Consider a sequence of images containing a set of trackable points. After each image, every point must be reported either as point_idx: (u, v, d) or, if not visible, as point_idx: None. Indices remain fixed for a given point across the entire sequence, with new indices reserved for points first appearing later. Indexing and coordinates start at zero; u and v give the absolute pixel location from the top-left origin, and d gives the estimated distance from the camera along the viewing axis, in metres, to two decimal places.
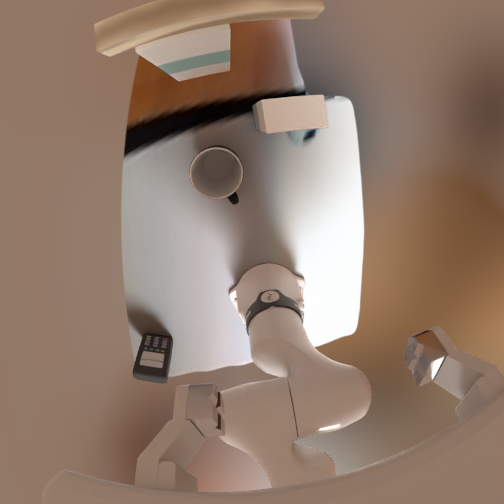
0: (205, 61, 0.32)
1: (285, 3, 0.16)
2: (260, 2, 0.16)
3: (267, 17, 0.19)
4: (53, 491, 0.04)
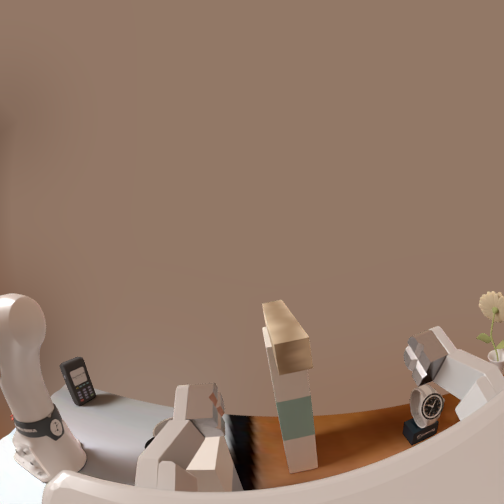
0: None
1: (275, 332, 0.29)
2: (275, 326, 0.31)
3: (273, 351, 0.30)
4: (53, 491, 0.04)
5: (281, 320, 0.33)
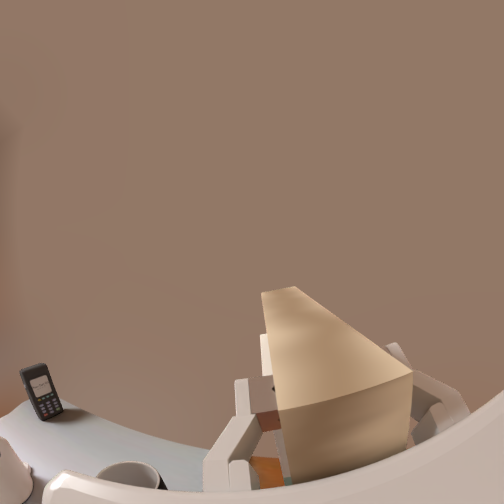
0: None
1: (284, 353, 0.09)
2: (284, 335, 0.11)
3: None
4: (53, 491, 0.04)
5: (298, 319, 0.14)
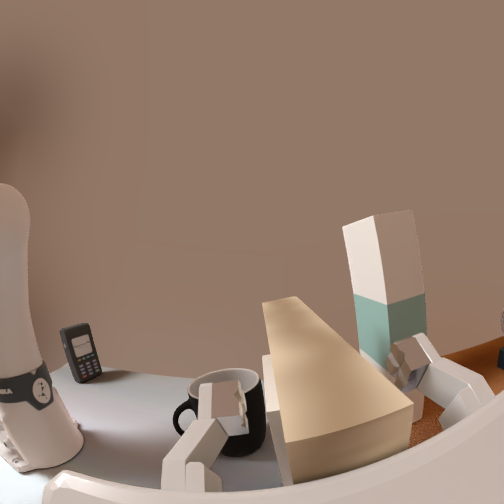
0: (376, 337, 0.28)
1: (289, 378, 0.09)
2: (288, 356, 0.11)
3: None
4: (53, 491, 0.04)
5: (301, 337, 0.14)
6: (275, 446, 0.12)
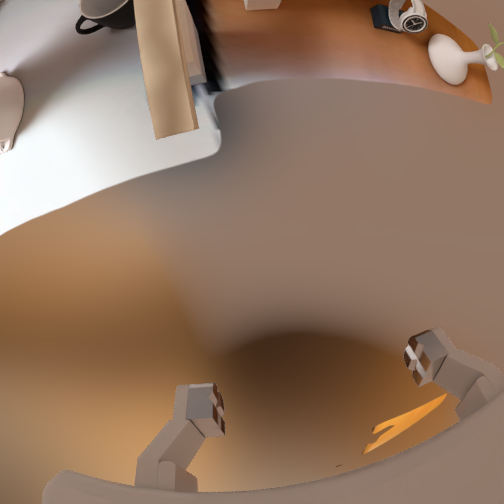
0: None
1: (153, 98, 0.19)
2: (151, 74, 0.18)
3: None
4: (53, 491, 0.04)
5: (159, 49, 0.17)
6: None
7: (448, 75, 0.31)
